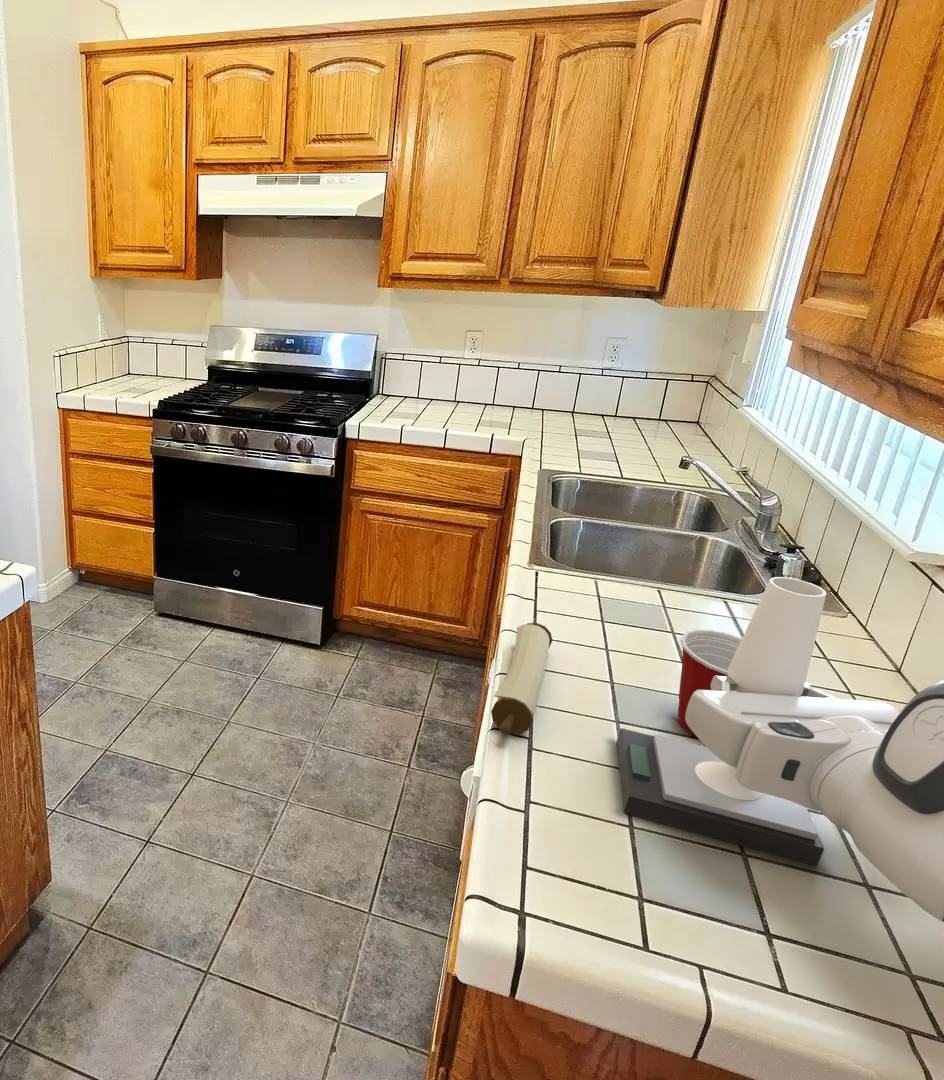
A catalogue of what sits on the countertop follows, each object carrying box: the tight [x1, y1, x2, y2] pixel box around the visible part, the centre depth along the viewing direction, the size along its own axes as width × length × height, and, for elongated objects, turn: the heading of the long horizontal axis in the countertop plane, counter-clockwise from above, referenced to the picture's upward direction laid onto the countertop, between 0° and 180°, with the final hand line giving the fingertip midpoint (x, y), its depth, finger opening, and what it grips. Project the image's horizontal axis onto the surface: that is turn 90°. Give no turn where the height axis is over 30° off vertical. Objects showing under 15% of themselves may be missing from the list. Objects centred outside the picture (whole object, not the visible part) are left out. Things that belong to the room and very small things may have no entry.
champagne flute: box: [695, 576, 827, 800], centre depth 80 cm, size 7×7×24 cm
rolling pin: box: [490, 622, 553, 735], centre depth 106 cm, size 32×6×5 cm, turn 151°
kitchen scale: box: [616, 727, 825, 867], centre depth 86 cm, size 18×14×3 cm
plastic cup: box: [677, 628, 743, 737], centre depth 97 cm, size 11×11×12 cm
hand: (756, 684), depth 81 cm, fingers closed on champagne flute, 7 cm apart
